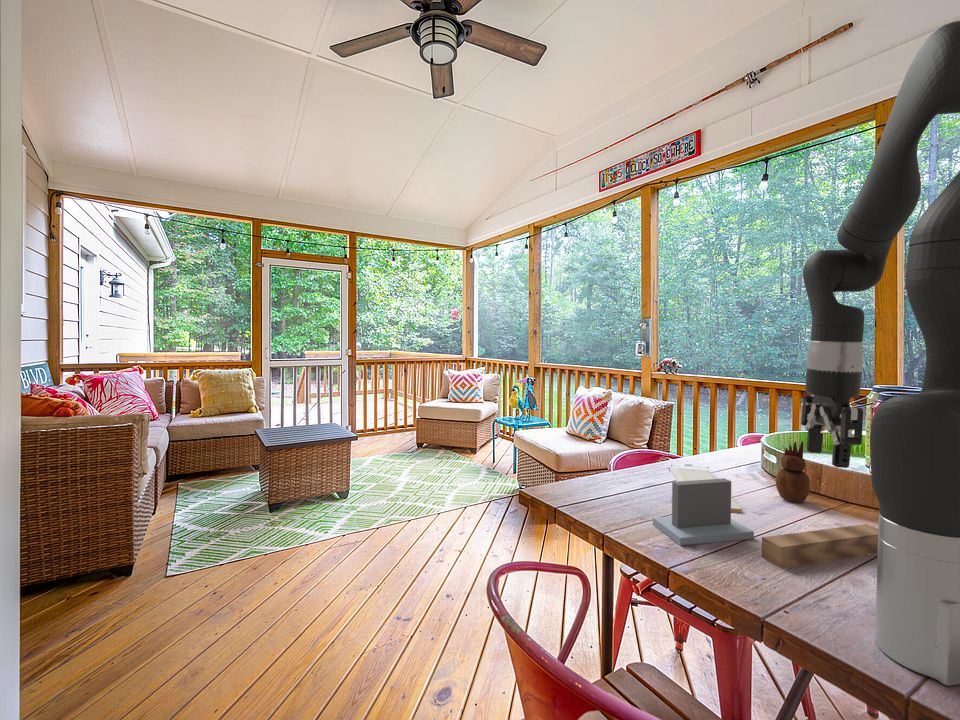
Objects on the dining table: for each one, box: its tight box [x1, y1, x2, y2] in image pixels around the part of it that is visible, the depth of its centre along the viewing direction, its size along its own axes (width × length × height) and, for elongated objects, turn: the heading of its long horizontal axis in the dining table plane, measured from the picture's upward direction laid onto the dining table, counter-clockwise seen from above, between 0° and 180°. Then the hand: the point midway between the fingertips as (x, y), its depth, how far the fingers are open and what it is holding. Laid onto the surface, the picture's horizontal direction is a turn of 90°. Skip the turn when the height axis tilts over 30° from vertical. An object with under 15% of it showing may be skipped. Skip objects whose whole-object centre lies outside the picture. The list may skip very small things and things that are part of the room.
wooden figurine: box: [775, 440, 811, 504], centre depth 110 cm, size 7×6×15 cm
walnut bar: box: [761, 523, 878, 568], centre depth 83 cm, size 24×4×4 cm, turn 102°
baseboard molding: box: [668, 464, 743, 514], centre depth 119 cm, size 31×3×12 cm
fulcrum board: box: [652, 477, 755, 546], centre depth 93 cm, size 10×16×10 cm, turn 99°
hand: (826, 459), depth 79 cm, fingers open, 8 cm apart
